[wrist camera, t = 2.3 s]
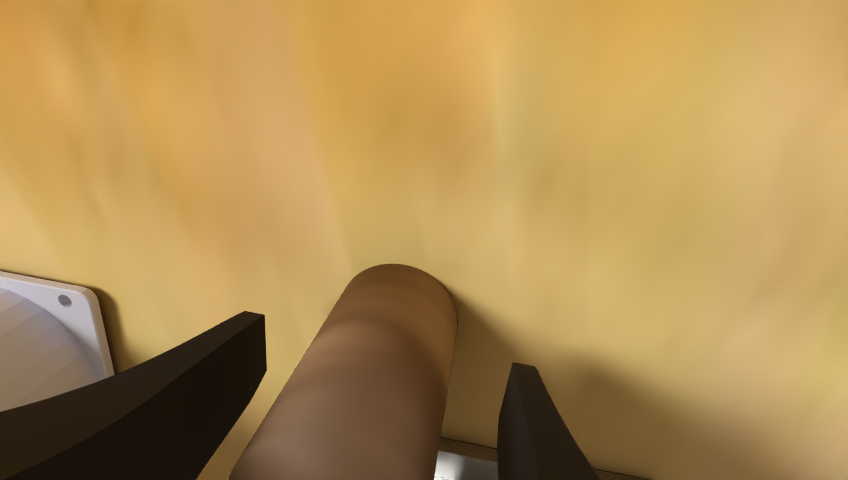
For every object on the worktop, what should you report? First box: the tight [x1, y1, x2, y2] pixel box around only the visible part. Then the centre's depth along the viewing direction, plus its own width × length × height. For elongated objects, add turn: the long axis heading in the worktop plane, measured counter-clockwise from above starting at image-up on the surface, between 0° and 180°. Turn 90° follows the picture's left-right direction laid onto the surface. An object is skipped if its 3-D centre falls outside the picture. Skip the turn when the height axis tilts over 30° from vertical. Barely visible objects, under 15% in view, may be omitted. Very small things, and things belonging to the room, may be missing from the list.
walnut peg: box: [229, 264, 458, 480], centre depth 12 cm, size 4×4×7 cm
